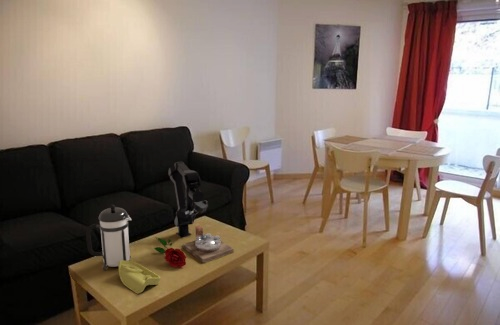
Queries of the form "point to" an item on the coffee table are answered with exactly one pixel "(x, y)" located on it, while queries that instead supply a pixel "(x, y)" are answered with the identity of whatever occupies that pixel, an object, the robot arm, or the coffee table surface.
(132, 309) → the coffee table surface
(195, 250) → the square disc baseplate
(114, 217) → the coffee press
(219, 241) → the round disc with cubes
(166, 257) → the flower
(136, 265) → the plastic component
